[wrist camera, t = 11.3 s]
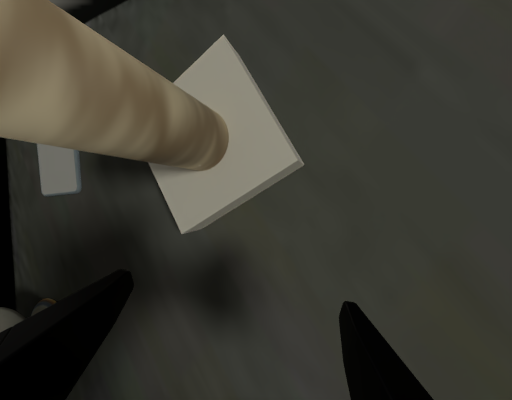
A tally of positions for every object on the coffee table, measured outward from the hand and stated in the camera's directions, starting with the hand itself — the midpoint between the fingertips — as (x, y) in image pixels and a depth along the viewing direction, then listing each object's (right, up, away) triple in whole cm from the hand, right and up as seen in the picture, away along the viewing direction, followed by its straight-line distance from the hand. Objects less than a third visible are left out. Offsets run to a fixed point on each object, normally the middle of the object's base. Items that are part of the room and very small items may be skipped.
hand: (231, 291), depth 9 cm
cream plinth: (-3, +9, +13) cm, 16 cm away
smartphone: (-26, +12, +22) cm, 36 cm away
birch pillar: (-4, +9, +10) cm, 14 cm away
